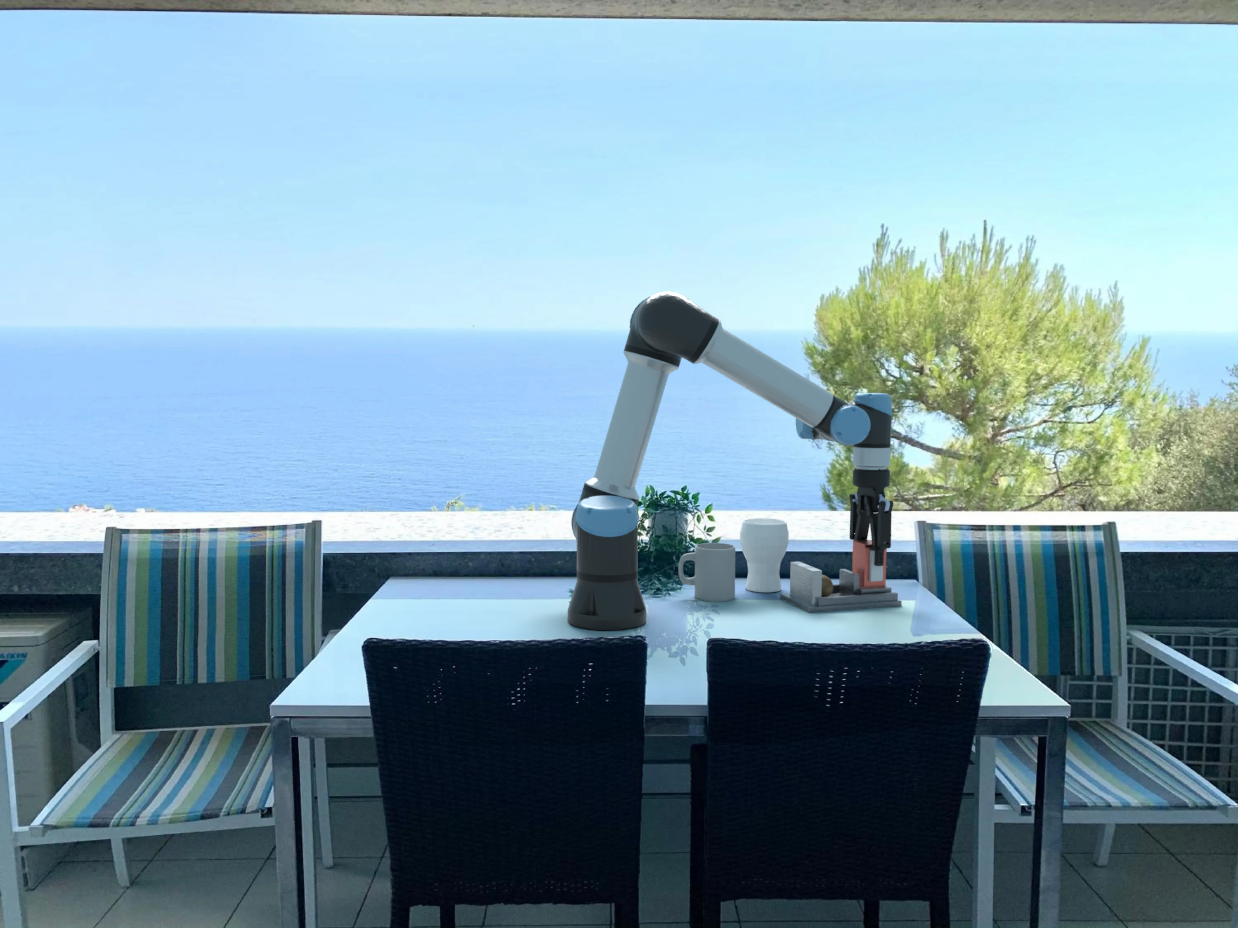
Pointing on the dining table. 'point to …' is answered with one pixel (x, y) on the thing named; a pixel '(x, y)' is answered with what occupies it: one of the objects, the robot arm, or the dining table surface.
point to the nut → (826, 586)
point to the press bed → (809, 595)
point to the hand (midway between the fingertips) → (868, 577)
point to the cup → (764, 552)
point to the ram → (861, 573)
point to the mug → (711, 571)
